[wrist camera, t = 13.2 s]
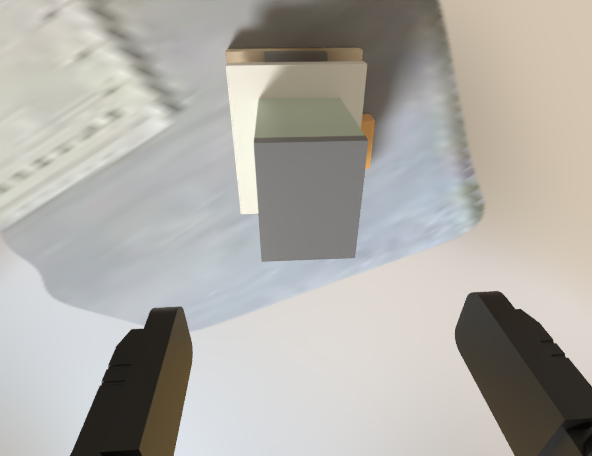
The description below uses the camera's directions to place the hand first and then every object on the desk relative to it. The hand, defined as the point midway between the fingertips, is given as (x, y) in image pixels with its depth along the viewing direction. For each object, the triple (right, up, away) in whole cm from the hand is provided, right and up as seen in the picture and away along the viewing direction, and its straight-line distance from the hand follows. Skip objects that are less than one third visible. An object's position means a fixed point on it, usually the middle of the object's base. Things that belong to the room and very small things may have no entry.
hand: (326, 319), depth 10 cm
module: (-1, +7, +12) cm, 14 cm away
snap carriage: (0, +9, +13) cm, 16 cm away
